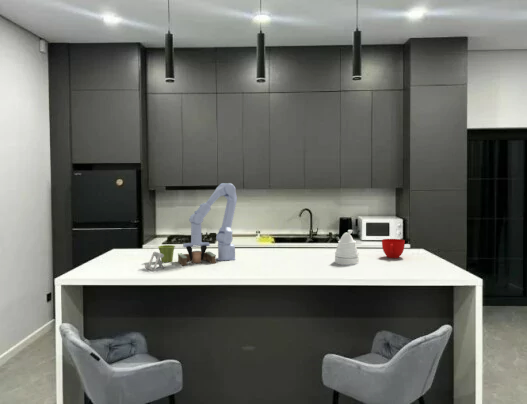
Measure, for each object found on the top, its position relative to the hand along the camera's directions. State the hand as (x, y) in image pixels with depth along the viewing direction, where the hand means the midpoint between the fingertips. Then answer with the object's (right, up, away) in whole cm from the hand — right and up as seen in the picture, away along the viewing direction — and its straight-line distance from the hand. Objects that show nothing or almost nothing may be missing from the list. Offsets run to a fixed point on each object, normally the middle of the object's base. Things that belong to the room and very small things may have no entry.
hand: (196, 259), depth 252 cm
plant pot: (-17, -2, +3) cm, 18 cm away
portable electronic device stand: (-19, -3, -18) cm, 26 cm away
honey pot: (+83, -2, -2) cm, 83 cm away
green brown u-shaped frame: (0, -2, -1) cm, 2 cm away
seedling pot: (0, -2, 0) cm, 2 cm away
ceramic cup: (+113, -1, +13) cm, 114 cm away
